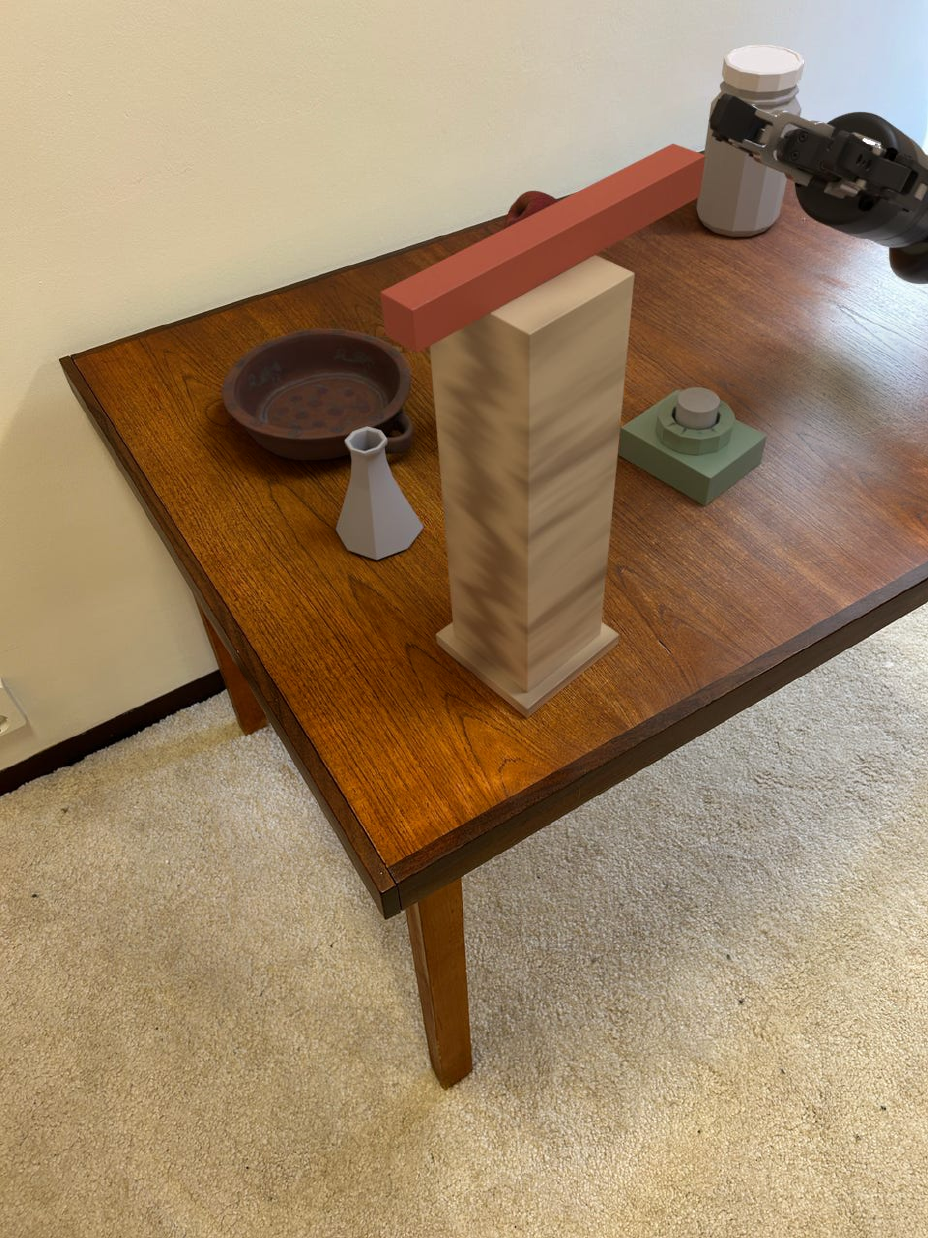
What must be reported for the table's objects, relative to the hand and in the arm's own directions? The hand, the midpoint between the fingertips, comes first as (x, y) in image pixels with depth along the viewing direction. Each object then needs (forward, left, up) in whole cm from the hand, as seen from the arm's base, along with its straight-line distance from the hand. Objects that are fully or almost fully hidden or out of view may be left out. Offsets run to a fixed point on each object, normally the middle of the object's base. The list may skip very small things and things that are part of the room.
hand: (775, 129), depth 60 cm
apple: (+40, -20, -32) cm, 55 cm away
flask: (+18, +22, -32) cm, 43 cm away
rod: (0, +20, -1) cm, 20 cm away
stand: (0, +22, -32) cm, 39 cm away
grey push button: (+5, -4, -27) cm, 28 cm away
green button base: (+5, -4, -32) cm, 32 cm away
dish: (+34, +16, -32) cm, 49 cm away
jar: (+29, -43, -32) cm, 61 cm away
